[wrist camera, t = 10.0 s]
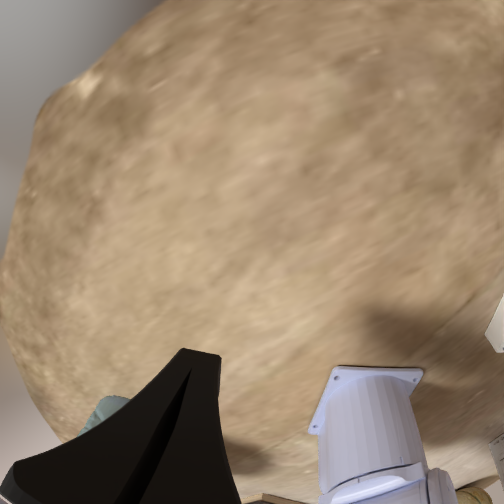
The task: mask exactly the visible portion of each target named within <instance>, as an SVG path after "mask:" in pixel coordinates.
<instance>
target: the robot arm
mask: <svg viewBox="0 0 504 504" xmlns="http://www.w3.org/2000/svg"><path fill="white" fill-rule="evenodd" d="M221 359H222V358H221V357H220V356H219V355H216V354H210V353H205V352H200V351H195V350H191V349H186V348H182V349H180V350H179V351H178V352H177V353H176V355H175V356H174V357H173V358H172V359H171V360H170V362H169V363H168V364H167V365H166V366H165V367H164V368H163V369H162V370H161V371H160V372H159V374H158V375H157V376H156V377H155V378H154V379H153V380H152V381H150V382H149V383H148V384H147V385H146V386H145V387H144V388H143V389H142V390H141V391H140V392H139V393H138V394H137V395H136V396H134V397H133V398H132V399H131V400H130V401H129V402H127V403H126V404H125V405H124V406H123V407H121V408H120V409H119V410H118V411H116V412H115V413H114V414H112V415H111V416H110V417H108V418H107V419H105V420H104V421H102V422H101V423H99V424H98V425H96V426H95V427H93V428H91V429H90V430H88V431H87V432H85V433H83V434H82V435H80V436H78V437H76V438H74V439H72V440H70V441H68V442H66V443H64V444H62V445H60V446H58V447H55V448H53V449H51V450H49V451H46V452H44V453H41V454H38V455H35V456H32V457H29V458H26V459H22V460H19V461H16V462H15V463H14V464H13V466H12V467H11V468H10V470H9V471H8V473H7V475H6V477H5V478H4V480H3V482H2V485H1V486H0V494H1V495H2V496H3V497H4V498H6V499H7V500H8V501H9V502H11V503H12V504H242V502H241V500H240V497H239V494H238V491H237V488H236V486H235V483H234V480H233V477H232V473H231V470H230V466H229V463H228V459H227V455H226V451H225V446H224V441H223V436H222V430H221V424H220V416H219V406H218V396H219V389H220V374H221ZM336 376H338V377H336ZM422 376H423V370H422V369H420V368H366V367H346V366H337V367H335V368H333V370H332V372H331V375H330V377H329V380H328V382H327V385H326V388H325V390H324V392H323V395H322V397H321V400H320V402H319V405H318V407H317V409H316V412H315V414H314V416H313V419H312V421H311V423H310V425H309V428H308V433H309V434H315V435H318V469H319V487H320V490H321V492H322V493H323V495H320V496H319V503H318V504H458V500H457V496H456V492H455V489H454V486H453V483H452V480H451V478H450V476H449V474H448V472H447V471H444V470H441V469H440V468H434V469H432V470H430V469H429V468H428V465H427V461H426V457H425V453H424V449H423V445H422V441H421V437H420V434H419V430H418V426H417V423H416V419H415V416H414V412H413V409H412V406H411V402H410V399H409V397H410V395H411V394H412V392H413V390H414V389H415V387H416V386H417V384H418V382H419V381H420V379H421V377H422ZM0 504H8V503H6V502H5V501H4V500H3V499H1V498H0Z"/></svg>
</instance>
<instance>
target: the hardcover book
mask: <svg viewBox="0 0 504 504" xmlns="http://www.w3.org/2000/svg"><path fill="white" fill-rule="evenodd" d="M240 500H241V502H242V504H304V503H299V502H295V501H291V500H287V499H283V498H279V497H275V496H271V495H268V494H264V493H261V494H258V495H254V496H251V497H247V498H243V499H240Z"/></svg>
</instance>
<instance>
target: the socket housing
mask: <svg viewBox="0 0 504 504" xmlns="http://www.w3.org/2000/svg"><path fill="white" fill-rule="evenodd" d="M485 336H486V337H487V339H488V340H489V342H490V343H491V345H492V346H493V348H494V349H495V351H496V352H497V353H502V352H504V294H503V297H502V299H501V301H500V303H499V305H498V308H497V310H496V312H495V314H494V316H493V318H492V320H491V322H490V324H489V326H488V328H487V330H486V332H485Z"/></svg>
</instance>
